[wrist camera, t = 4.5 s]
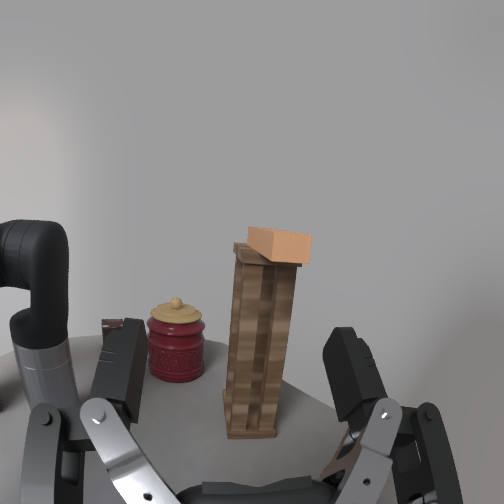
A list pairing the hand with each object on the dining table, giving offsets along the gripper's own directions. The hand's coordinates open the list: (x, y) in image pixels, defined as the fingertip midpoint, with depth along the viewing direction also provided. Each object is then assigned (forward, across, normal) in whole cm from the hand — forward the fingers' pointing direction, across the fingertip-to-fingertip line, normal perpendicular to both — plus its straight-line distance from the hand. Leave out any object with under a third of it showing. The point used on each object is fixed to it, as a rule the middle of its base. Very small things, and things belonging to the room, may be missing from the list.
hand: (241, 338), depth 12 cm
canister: (+27, -8, -51) cm, 58 cm away
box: (+34, -25, -54) cm, 69 cm away
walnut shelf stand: (+13, +7, -42) cm, 45 cm away
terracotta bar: (+24, +7, -13) cm, 28 cm away
